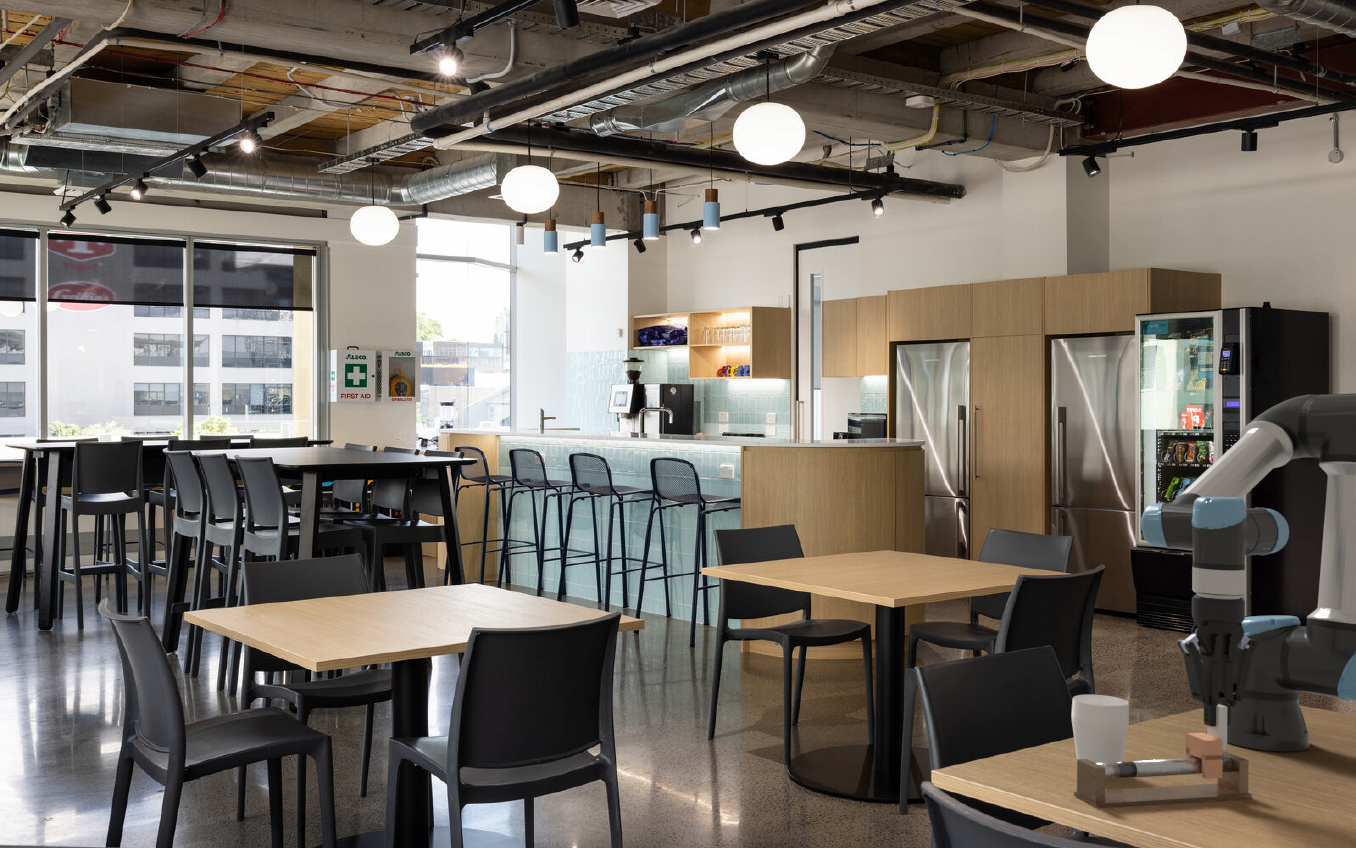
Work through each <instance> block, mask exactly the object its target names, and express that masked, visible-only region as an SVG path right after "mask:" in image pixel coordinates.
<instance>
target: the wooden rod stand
mask: <svg viewBox="0 0 1356 848" xmlns="http://www.w3.org/2000/svg"><path fill="white" fill-rule="evenodd" d="M1249 764H1250V763H1249V759H1246V758H1243V757H1241V756H1238V755H1236V754H1233V753H1231V752H1228V751H1223V757H1222V778H1217V783H1203V784H1191V785H1190V784H1189V785H1188V784H1187V785H1173V786H1172V785H1171V786H1170V785H1169V786H1153V787H1152V786H1151V787H1139V788H1138V787H1136V788H1135V787H1134V788H1121V789H1117V788H1115V789H1106V780H1113V779H1115V780H1116V779H1130V778H1131V779H1132V778H1147V777H1168V776H1186V775H1202V759H1201V758H1186V757H1185V758H1172V759H1171V758H1169V759H1167V758H1166V759H1149V760H1131V761H1126V760H1125V761H1123V762H1107V763H1094V762H1092V761H1090V760H1088V759H1077V758H1076V765H1077V767H1076V791H1073V796H1074V797H1075V796H1076V797H1075V798H1077V797H1078V799H1079V798H1080V800H1081V801H1083V802H1085V801H1086V802H1088V803H1089V804H1088V803H1087V804H1088V805H1091V806H1092V807H1094V806H1095V807H1094V808H1096V807H1101V808H1113V807H1116V806H1118V807H1131V806H1132V807H1133V806H1145V805H1147V806H1148V805H1149V806H1150V805H1163V804H1164V805H1165V804H1167V805H1168V804H1178V803H1179V804H1180V803H1181V804H1182V803H1197V802H1199V803H1200V802H1214V801H1216V802H1217V801H1229V800H1231V801H1232V800H1246V799H1248V800H1249V799H1250V800H1251V799H1252V797H1253V796H1252V794H1251V793H1249V777H1250V774H1249V769H1250V768H1249V766H1250V765H1249ZM1086 802H1085V803H1086Z"/></svg>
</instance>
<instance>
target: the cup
mask: <svg viewBox="0 0 1356 848" xmlns="http://www.w3.org/2000/svg"><path fill="white" fill-rule="evenodd" d="M1071 703H1072V704H1071V724H1072V732H1073V739H1074V746H1075V747H1074V748H1075V754H1076V755H1075V756H1076V760H1077V759H1088V760H1090V761H1092V762H1094V763H1107V762H1124V759H1125V758H1124V757H1125V752H1126V747H1127V739H1128V733H1129V727H1130V711H1129V710H1130V709H1129V701H1127V700H1126V699H1123V698H1121V697H1116V696H1111V695H1110V696H1109V695H1104V694H1078V695H1075V696H1073V697H1072V702H1071Z"/></svg>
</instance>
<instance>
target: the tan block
mask: <svg viewBox="0 0 1356 848" xmlns="http://www.w3.org/2000/svg"><path fill="white" fill-rule="evenodd" d="M1223 750H1224V749H1223V740H1221V739H1219V738H1216V737H1213V736H1211V735H1208V734H1207V733H1205V732H1187V733H1185V758H1201V759H1202V774H1201V778H1203V779H1207V780H1208V779H1218V778H1222V757H1223V752H1224V751H1223Z"/></svg>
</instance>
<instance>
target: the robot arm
mask: <svg viewBox="0 0 1356 848" xmlns="http://www.w3.org/2000/svg"><path fill="white" fill-rule="evenodd" d="M1300 458H1318V459H1319V462H1318V463H1319V464H1318V466H1319V467H1320V468H1321V469H1322V470H1323V471H1324V472H1325V474H1326V475H1327V483H1326V496H1325V498H1326V499H1325V509H1324V510H1325V511H1324V522H1323V532H1322V533H1323V536H1322V546H1321V548H1322V549H1321V560H1320V573H1319V574H1320V575H1319V584H1318V585H1319V586H1318V598H1317V601H1318V602H1317V608H1316V609H1315V610H1313V611H1312V612H1311V613H1310V614H1309V615H1307V616H1306V617H1307V618H1306V625H1305V626H1303V625H1302V626H1301V621H1300V618H1299V617H1298V616H1294V615H1257V616H1255V615H1254V616H1246V611H1245V610H1246V609H1245V608H1246V600H1244V598H1243V597H1242V596H1244V595H1245V594H1246V556H1257V555H1259V556H1267V555H1269V554H1274V553H1277V552H1279V551H1280V550H1282V549H1283V548H1284V547H1285V546H1286V544H1287V543H1288V540H1289V537H1290V527H1289V524H1288V522H1287V520H1286V518H1285V517H1284V516H1283V515H1282V514H1281V513H1280V512H1279V511H1276V510H1274V509H1271V508H1265V507H1254V508H1253V507H1252V508H1251V507H1249V508H1248V507H1246V503H1245V502H1246V501H1245V500H1244V499H1243V498H1244V497H1246V495H1247V494H1248V493H1249V492H1250V491H1252V489H1253V488H1254V487H1255V486H1257V485H1258V484H1259V482H1260V481H1262V480H1263V479H1264V478H1265V477H1266V476H1267V475H1268V474H1269V473H1270V472H1271V471H1272V470H1273V469H1276V468H1280V467H1283V466H1285V465H1286V464H1287V463H1289V462H1290V461H1291V460H1295V459H1300ZM1140 528H1141V531H1142V536H1143V538H1144V540H1145V541H1146V542H1147V543H1148V544H1150V545H1151V546H1155V547H1161V548H1162V547H1163V548H1167V549H1181V550H1192V565H1191V566H1192V568H1191V569H1192V571H1191V574H1192V576H1191V577H1192V579H1191V581H1192V584H1191V585H1192V588H1191V590H1192V591H1193V592H1194V593H1196V594H1194V595H1193V596H1192V597H1191V616H1192V618H1193V619H1192V620H1193V627H1192V628H1191V631H1190V632H1191V634H1190V635H1189V636H1188V637H1187V638H1185V639H1181V638H1180V639H1178V641H1177V646H1178V648H1179V649H1180V651H1181V652H1182V654H1183V660H1184V663H1185V668H1186V669H1185V670H1186V675H1187V680H1188V684H1189V691H1190V694H1191V698H1192V699H1194V700H1195V701H1198V702H1201V704H1202V705H1203V723H1204V725H1205V726H1206V729H1207V730H1206V734H1208V735H1211V736H1213V737H1216V738H1219V739H1221V740H1223V750H1227V749H1228V744H1232V745H1235V746H1239V747H1244V748H1249V749H1255V750H1262V751H1271V752H1299V751H1301V752H1302V751H1305V750H1308V749H1309V748H1310V732H1309V730H1308V729H1307V725H1306V721H1305V717H1304V714H1303V711H1302V708H1301V706H1300V701H1299V700H1300V699H1299V697H1300V695H1299V694H1300V692H1303V693H1308V694H1314V695H1319V696H1324V697H1330V698H1335V699H1340V700H1341V701H1346V702H1347V701H1348V702H1349V701H1350V702H1351V701H1352V702H1356V393H1354V392H1353V393H1331V394H1305V395H1299V396H1295V397H1292V398H1290V399H1286V400H1284V401H1282V402H1280V403H1278V404H1275V405H1274V406H1272V407H1270V408H1268V409H1266V410H1264V412H1262V413H1260V414H1259V415H1257V416H1256V417H1255V418H1254V419H1252V420H1251V421H1250V422H1249V423H1247V425H1246V426H1244V428H1242V431H1241V432H1240V436H1239V440H1238V441H1237V442H1235V443H1234V444H1233V445H1232V446H1231V447H1230V448H1229V449H1228V450H1226V451H1225V453H1223V454H1222V455H1221V456H1220V457H1218V459H1217V460H1216V461H1215V462H1214V463H1213V464H1212V465H1211V466H1209V467H1208V468H1207V469H1206V470H1205V471H1204V472H1203V473H1202V474H1201V475H1199V477H1197V478H1196V479H1195V480H1194V481H1193V482H1192V483H1191V484H1190V485H1188V487H1187V488H1185V490H1183V491H1182V492H1181V493H1180V494H1179V495H1178V496H1177V497H1175V499H1173V500H1172V502H1170V503H1166V502H1163V501H1162V502H1159V503H1157V502H1155V503H1152V504H1149V505H1148V506H1147V507H1146V508H1145V509H1144V510H1143V513H1142V516H1141V520H1140Z"/></svg>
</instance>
